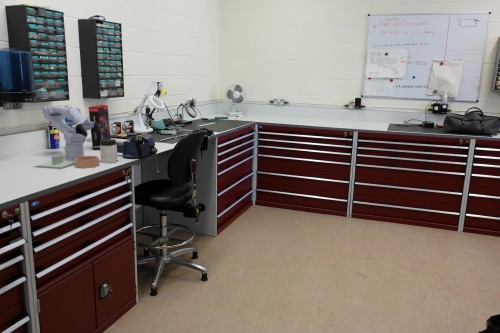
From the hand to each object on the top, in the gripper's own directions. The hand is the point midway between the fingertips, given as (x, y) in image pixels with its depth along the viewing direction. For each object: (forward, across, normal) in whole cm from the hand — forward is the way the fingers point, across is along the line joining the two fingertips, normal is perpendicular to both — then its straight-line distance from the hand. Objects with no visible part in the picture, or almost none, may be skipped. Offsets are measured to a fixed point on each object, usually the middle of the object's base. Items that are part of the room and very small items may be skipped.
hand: (93, 134), depth 216 cm
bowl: (+7, -5, +15) cm, 17 cm away
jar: (+5, +9, +16) cm, 19 cm away
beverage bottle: (-45, +15, +38) cm, 61 cm away
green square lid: (-5, -14, +20) cm, 25 cm away
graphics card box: (-33, +28, +33) cm, 55 cm away
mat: (-5, -14, +20) cm, 25 cm away
